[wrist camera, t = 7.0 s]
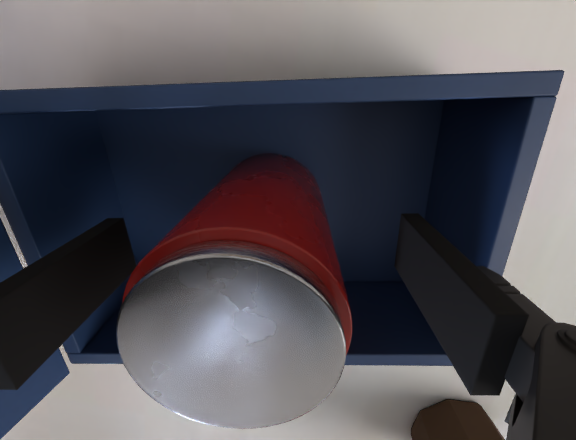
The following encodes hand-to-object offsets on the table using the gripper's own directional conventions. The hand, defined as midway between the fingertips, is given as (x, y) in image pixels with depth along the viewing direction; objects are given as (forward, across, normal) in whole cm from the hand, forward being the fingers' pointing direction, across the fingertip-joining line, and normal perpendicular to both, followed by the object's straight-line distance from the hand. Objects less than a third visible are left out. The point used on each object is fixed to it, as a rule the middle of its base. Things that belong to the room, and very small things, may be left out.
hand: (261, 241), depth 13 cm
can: (+5, 0, 0) cm, 5 cm away
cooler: (+6, 0, 0) cm, 6 cm away
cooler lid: (-13, -12, 0) cm, 18 cm away
